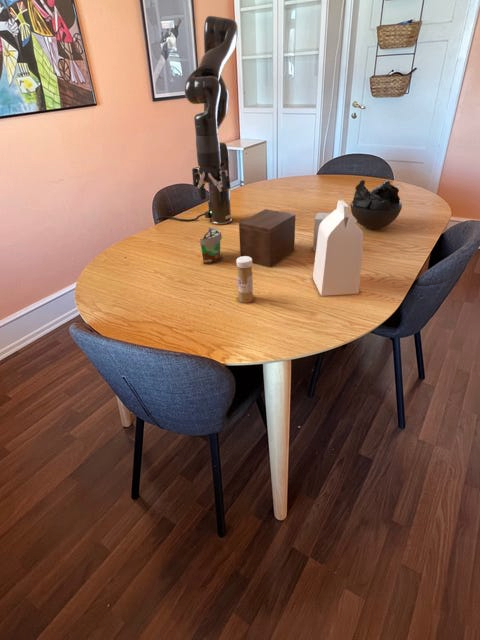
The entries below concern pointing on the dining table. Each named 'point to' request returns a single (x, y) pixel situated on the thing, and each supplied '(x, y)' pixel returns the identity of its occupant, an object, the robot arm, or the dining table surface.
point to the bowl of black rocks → (376, 205)
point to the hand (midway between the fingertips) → (212, 200)
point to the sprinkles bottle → (245, 279)
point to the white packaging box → (317, 221)
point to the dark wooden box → (267, 236)
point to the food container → (211, 246)
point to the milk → (338, 253)
